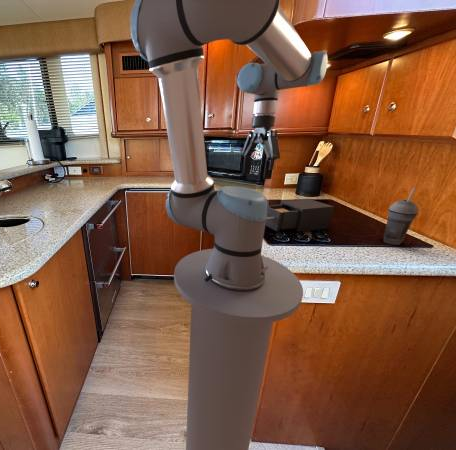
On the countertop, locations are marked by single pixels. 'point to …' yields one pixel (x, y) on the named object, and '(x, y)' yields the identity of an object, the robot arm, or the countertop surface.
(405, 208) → the beverage cup
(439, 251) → the countertop surface
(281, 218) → the block
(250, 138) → the robot arm
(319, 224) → the dark brown box
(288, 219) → the basket
